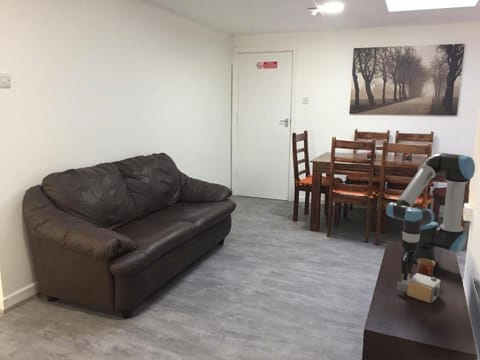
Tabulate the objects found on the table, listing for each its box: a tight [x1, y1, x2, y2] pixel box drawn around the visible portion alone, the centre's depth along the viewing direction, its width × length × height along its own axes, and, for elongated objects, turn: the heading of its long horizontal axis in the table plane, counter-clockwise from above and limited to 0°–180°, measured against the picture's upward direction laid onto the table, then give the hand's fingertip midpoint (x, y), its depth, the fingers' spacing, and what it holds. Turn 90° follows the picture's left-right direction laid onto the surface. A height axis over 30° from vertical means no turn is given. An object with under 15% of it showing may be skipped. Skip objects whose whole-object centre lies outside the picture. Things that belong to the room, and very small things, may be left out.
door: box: [396, 281, 434, 304], centre depth 188 cm, size 1×16×8 cm, turn 47°
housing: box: [409, 272, 442, 302], centre depth 190 cm, size 10×12×9 cm
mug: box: [416, 259, 436, 277], centre depth 205 cm, size 12×9×10 cm
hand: (405, 285), depth 196 cm, fingers closed
